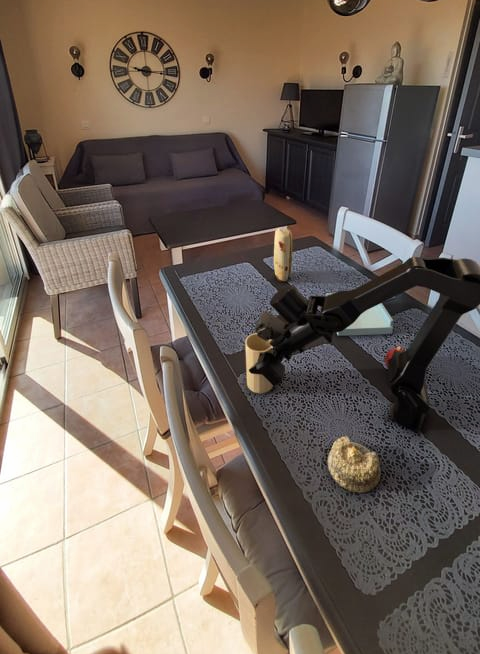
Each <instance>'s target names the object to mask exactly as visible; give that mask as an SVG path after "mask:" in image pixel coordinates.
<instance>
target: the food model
mask: <svg viewBox="0 0 480 654" xmlns="http://www.w3.org/2000/svg"><path fill="white" fill-rule="evenodd" d="M273 244H274V245H273V267H274V268H273V269H274V274H275V277H276V279H277V281H278V282H282V283H283V282H287V281H288V278H289V279H290V278H291V276H292V271H293V270H292V269H293V233H292V232H291V230H290V229H289V228H286V227H285V228H283V227H280V228H279V227H278V228H276V229H275V231H274V241H273Z"/></svg>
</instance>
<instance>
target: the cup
mask: <svg viewBox="0 0 480 654" xmlns="http://www.w3.org/2000/svg"><path fill="white" fill-rule="evenodd" d="M270 341H271V340H270V339H269V341H265V340H263V339H261V338H260V337H258V335H257V333H256V332H253V333H251V334H249V335H248V336H247V337H246V338H245V341H244V348H245V351H244V353H245V377H246V386H247V388H248V389H249V390H250V391H251V392H253V393H255V394H265V393H268V392H270V391H271V390H272V388H273V387H274V386H273V385H272V384H271V383H270V382H269V381H268V380H267V379H266V378H265V377H264V376H263V375H260V374H251V373H250V372H249V369H250V368H251V367H252V366H253V365H254V364H256V363H257V360H258V357H259V355H260V353H262V354H263V353H265V352H269V353H272V354H273V351H274V350H273V349H272V346H271V345H270V344H269V343H270Z"/></svg>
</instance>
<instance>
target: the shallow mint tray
mask: <svg viewBox="0 0 480 654" xmlns="http://www.w3.org/2000/svg"><path fill="white" fill-rule="evenodd" d="M333 293H334V292H332V293H331V292H329V293H325V296H328V295H330V294H333ZM393 330H394V318H392V316H391V315H390V314H389V311H388V310H387V308H386V307H385V306H384V304H383V302H382V303H380V304H378V305H376V306H374V307H372V308H370V309H368V310H366V311H365V312H363V313H362V314H361V315H360V316H359V317H358V318H357V320H356V321H355V322H354V323H353V324H351V325H350V326H349V327H347V328H346V329H344V330H343V331H341V332H336V334H337V336H338V337H342V336H343V337H344V336H373V335H374V336H377V335H392V334H393Z"/></svg>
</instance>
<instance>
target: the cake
mask: <svg viewBox="0 0 480 654" xmlns="http://www.w3.org/2000/svg"><path fill="white" fill-rule="evenodd" d="M327 467H328V472H329V473H330V475H331V477H332V478H333V480H334V481H335V482H336V483H337V484H338V485H339V486H340V487H342V488H343V489H345V490H348V491H350V492H353V493H359V494H360V493H367V492H370V491H371V490H374V489H375V488H376V487H377V486H378V485H379V484H380V480H381V476H382V474H381V471H382V469H381V465H380V460H379V456H378V455H377V451H371V450H370V449H369V448H367V447H366V446H364V445H363V444H360V443H358V442H354V441H351V440H350V438H349V437H348V436H347V435H346V436H341V437H340V438H339V437H338V438H337V439H336V440H335V441H334V442H333V445H332V447H331V450H330V451H329V453H328V456H327Z"/></svg>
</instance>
